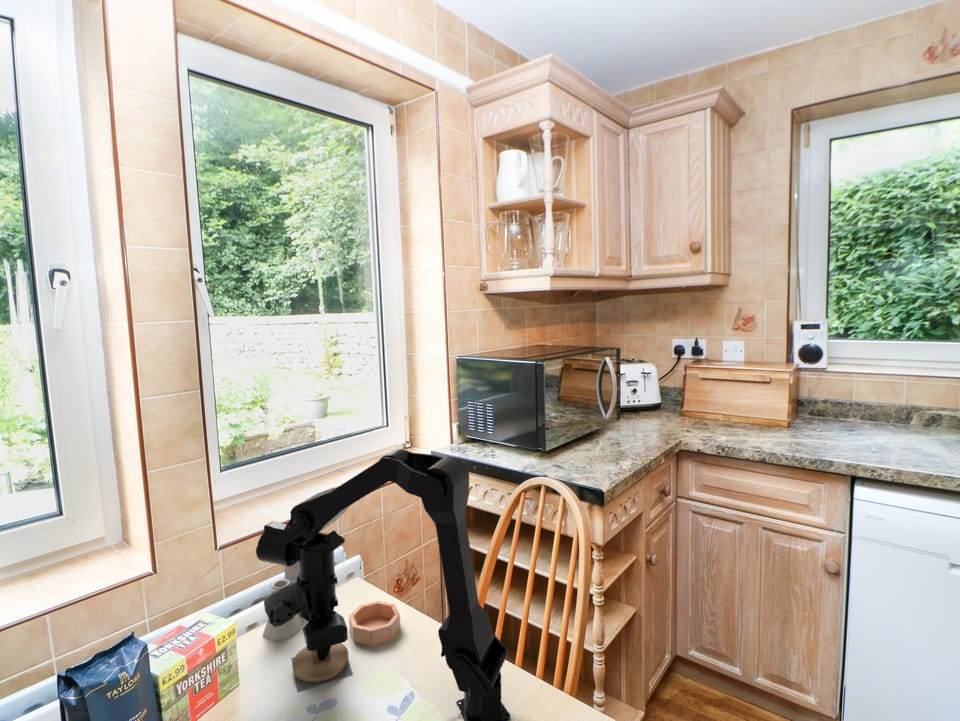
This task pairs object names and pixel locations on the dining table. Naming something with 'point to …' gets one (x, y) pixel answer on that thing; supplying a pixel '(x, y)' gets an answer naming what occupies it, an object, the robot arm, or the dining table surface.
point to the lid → (320, 664)
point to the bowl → (374, 623)
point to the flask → (286, 629)
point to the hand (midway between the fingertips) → (320, 654)
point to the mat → (306, 685)
